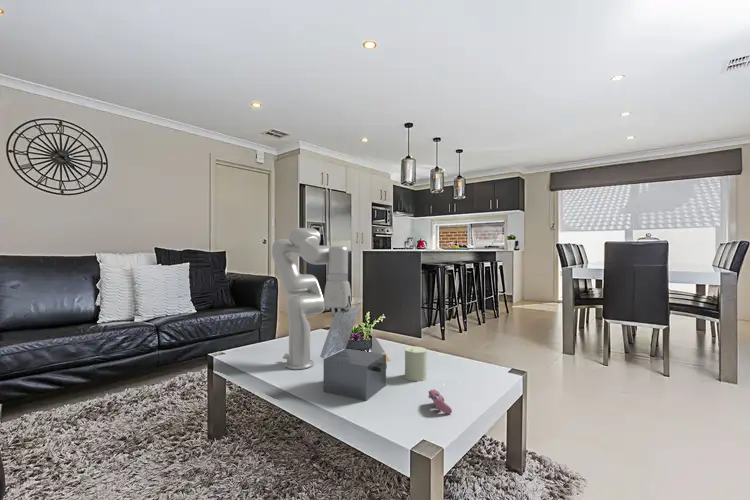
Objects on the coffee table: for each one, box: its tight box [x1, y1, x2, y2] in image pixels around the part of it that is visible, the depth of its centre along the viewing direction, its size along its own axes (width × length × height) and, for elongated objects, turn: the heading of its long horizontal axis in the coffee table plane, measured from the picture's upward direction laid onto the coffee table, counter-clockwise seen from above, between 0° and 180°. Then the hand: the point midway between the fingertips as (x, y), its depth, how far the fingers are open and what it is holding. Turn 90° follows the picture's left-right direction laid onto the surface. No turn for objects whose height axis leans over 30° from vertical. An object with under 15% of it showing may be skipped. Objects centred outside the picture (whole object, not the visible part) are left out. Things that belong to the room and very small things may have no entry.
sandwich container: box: [372, 332, 391, 364], centre depth 173 cm, size 9×15×15 cm, turn 49°
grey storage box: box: [322, 348, 388, 402], centre depth 136 cm, size 21×16×12 cm
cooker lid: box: [319, 306, 361, 359], centre depth 140 cm, size 18×16×3 cm
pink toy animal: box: [427, 388, 453, 415], centre depth 120 cm, size 10×5×7 cm, turn 6°
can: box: [403, 346, 428, 382], centre depth 149 cm, size 9×9×12 cm
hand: (337, 325), depth 140 cm, fingers closed
